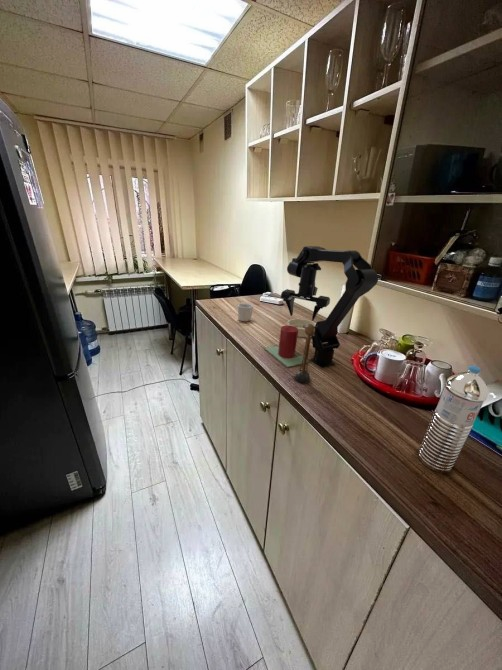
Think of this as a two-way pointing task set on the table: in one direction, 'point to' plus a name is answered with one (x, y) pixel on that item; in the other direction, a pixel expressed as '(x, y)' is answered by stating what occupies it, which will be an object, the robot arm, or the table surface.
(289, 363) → the mat
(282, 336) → the can
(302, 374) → the wooden tabletop sculpture
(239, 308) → the cup
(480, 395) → the water bottle
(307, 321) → the bowl
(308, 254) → the robot arm
